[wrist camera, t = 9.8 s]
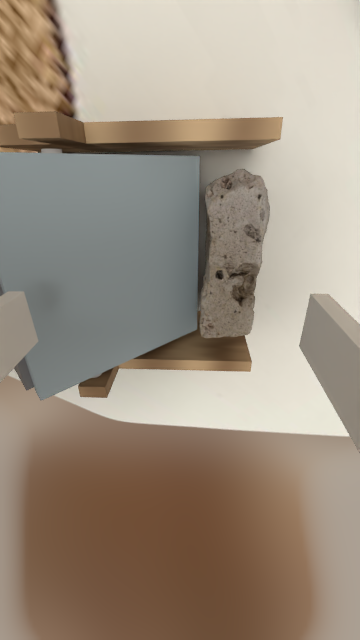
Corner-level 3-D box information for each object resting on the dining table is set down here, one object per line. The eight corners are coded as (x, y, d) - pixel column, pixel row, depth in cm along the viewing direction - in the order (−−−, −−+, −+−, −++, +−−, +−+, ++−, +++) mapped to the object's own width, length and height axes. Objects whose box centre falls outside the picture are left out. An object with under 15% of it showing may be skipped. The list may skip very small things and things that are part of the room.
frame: (86, 318, 32) (28, 395, 21) (52, 139, 24) (-70, 115, 13) (237, 320, 31) (258, 402, 20) (254, 134, 23) (304, 104, 12)
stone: (202, 365, 22) (204, 309, 31) (278, 362, 21) (258, 305, 30) (181, 178, 16) (191, 174, 25) (286, 164, 15) (258, 164, 24)
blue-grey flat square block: (11, 364, 22) (33, 406, 18) (-66, 152, 16) (-57, 145, 12) (158, 310, 31) (197, 331, 27) (150, 156, 24) (199, 152, 20)
